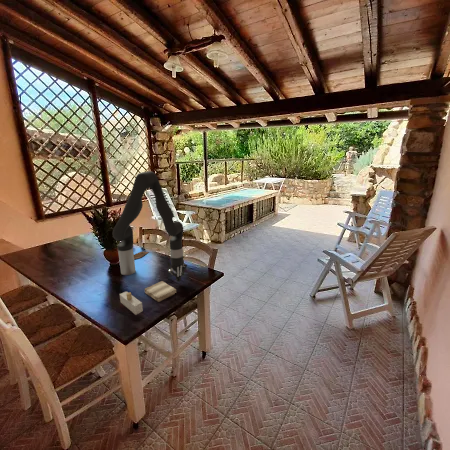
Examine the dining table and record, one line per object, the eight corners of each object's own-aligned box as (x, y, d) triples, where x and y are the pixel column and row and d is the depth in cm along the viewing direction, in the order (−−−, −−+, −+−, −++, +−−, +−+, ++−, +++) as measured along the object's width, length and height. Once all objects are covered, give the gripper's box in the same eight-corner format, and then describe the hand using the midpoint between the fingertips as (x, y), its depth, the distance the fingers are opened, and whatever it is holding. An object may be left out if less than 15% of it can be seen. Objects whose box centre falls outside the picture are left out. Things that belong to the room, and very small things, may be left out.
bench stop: (120, 302, 136) (118, 289, 134) (127, 299, 139) (126, 286, 137) (135, 314, 126) (133, 300, 123) (142, 311, 129) (141, 297, 126)
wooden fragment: (144, 250, 206) (144, 249, 206) (152, 254, 199) (152, 253, 199) (114, 261, 187) (114, 260, 187) (122, 265, 180) (122, 264, 180)
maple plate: (144, 293, 145) (144, 288, 145) (162, 285, 154) (162, 281, 153) (158, 302, 136) (158, 298, 136) (176, 293, 145) (176, 289, 144)
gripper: (181, 250, 156) (183, 275, 161) (163, 256, 146) (166, 283, 151) (189, 253, 151) (190, 279, 156) (171, 260, 141) (173, 287, 146)
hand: (178, 281), depth 153 cm, fingers closed
